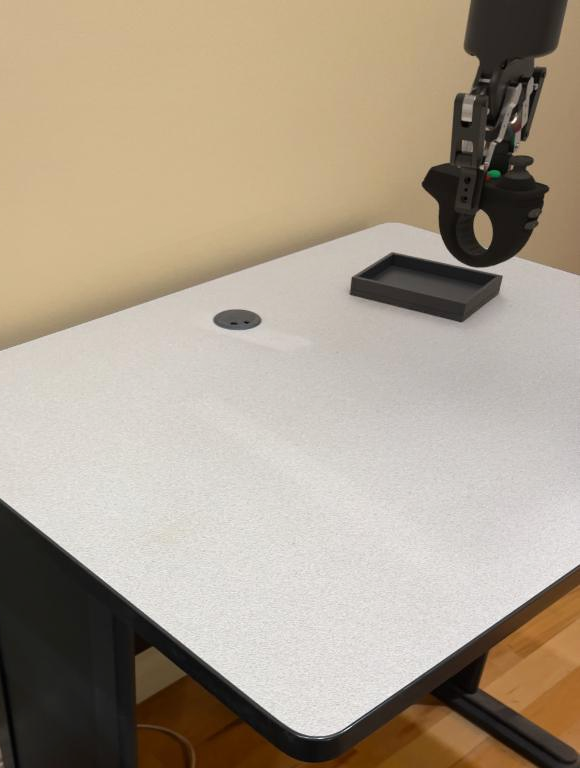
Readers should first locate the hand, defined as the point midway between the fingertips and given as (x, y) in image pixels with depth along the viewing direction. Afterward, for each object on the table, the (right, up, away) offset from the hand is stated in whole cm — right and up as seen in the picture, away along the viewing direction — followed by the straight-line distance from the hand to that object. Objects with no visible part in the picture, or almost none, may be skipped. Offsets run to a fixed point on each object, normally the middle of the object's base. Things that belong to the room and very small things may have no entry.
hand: (479, 203), depth 83 cm
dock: (+7, +4, +37) cm, 38 cm away
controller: (0, -4, +4) cm, 6 cm away
